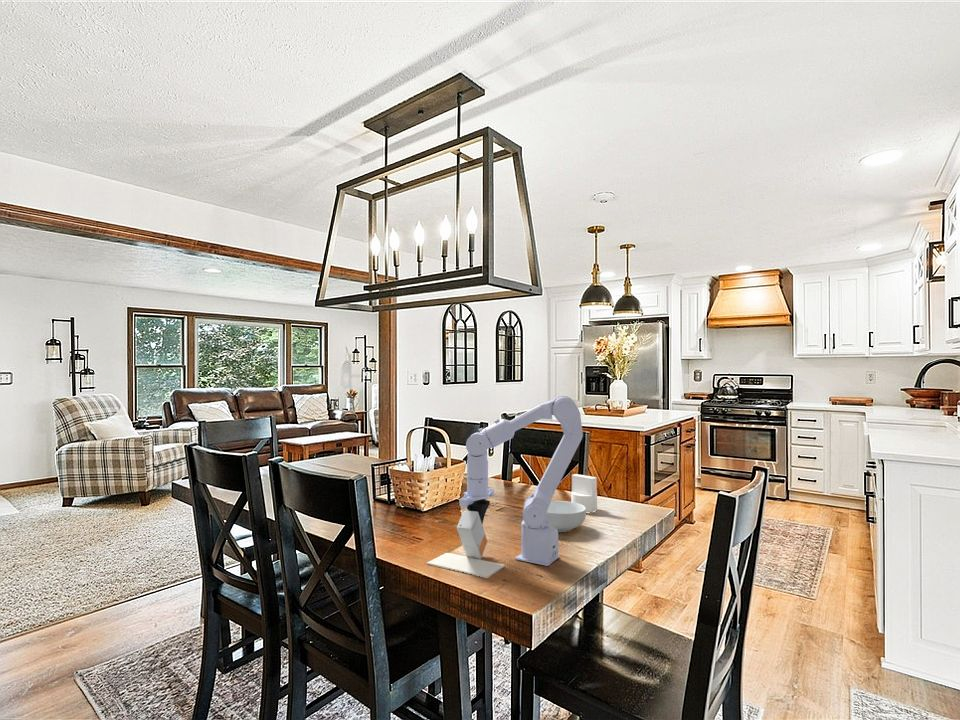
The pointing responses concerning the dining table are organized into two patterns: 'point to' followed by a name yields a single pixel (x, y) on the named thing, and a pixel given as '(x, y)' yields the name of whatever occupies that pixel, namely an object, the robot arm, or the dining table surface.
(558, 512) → the cereal bowl
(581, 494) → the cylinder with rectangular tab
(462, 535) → the skincare box
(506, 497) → the dining table surface
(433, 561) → the white rectangular slab
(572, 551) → the dining table surface
